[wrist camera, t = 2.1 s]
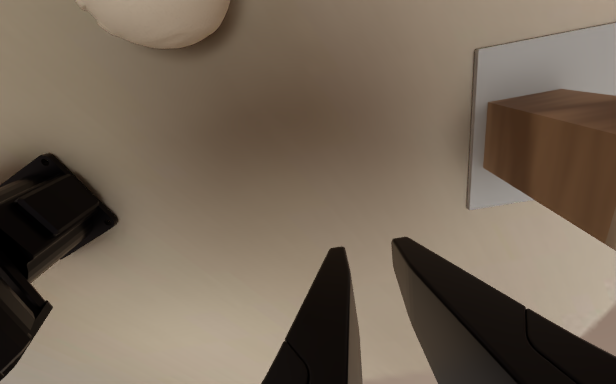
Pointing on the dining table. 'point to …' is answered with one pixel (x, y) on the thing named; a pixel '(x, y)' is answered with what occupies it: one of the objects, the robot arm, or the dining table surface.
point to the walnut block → (559, 154)
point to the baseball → (158, 20)
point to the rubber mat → (533, 90)
